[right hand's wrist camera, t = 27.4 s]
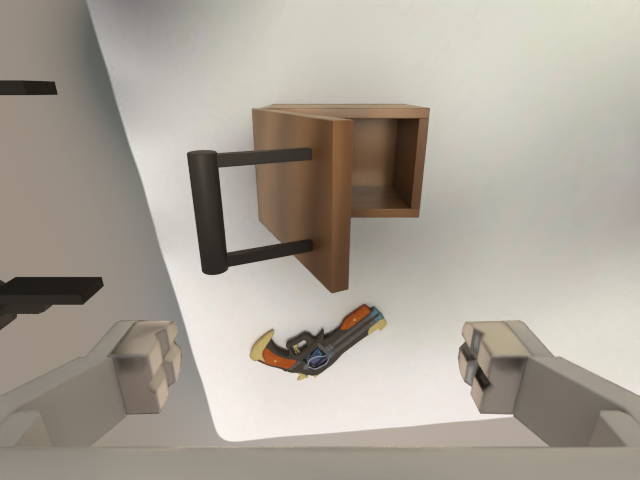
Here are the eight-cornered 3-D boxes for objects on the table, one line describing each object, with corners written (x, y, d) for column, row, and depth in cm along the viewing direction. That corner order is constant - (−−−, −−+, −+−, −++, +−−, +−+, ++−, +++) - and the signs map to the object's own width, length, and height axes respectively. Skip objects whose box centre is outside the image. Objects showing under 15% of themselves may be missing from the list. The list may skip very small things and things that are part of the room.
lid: (354, 119, 20) (190, 125, 17) (348, 289, 24) (214, 321, 21) (265, 108, 34) (164, 110, 30) (270, 218, 37) (181, 231, 34)
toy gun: (243, 356, 54) (289, 402, 56) (344, 275, 51) (390, 327, 52) (247, 347, 57) (291, 391, 58) (343, 269, 53) (387, 318, 55)
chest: (405, 104, 44) (430, 108, 34) (398, 191, 48) (418, 217, 38) (273, 104, 44) (259, 108, 34) (277, 191, 48) (265, 217, 38)
